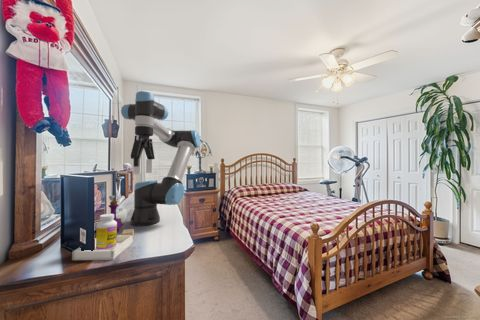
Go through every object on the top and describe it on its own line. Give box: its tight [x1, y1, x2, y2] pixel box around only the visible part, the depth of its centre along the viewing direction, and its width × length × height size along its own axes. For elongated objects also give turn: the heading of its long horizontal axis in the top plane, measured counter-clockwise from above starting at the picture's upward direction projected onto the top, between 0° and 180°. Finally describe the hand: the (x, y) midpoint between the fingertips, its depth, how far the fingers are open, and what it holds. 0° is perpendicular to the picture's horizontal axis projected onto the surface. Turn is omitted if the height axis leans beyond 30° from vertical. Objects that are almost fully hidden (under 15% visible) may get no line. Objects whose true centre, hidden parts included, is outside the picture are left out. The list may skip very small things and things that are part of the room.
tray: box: [71, 234, 135, 261], centre depth 80 cm, size 16×14×3 cm
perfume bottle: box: [108, 195, 124, 234], centre depth 98 cm, size 8×8×18 cm
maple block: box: [121, 228, 135, 236], centre depth 91 cm, size 4×4×4 cm
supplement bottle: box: [95, 213, 118, 250], centre depth 80 cm, size 7×7×13 cm
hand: (143, 173), depth 94 cm, fingers open, 13 cm apart
